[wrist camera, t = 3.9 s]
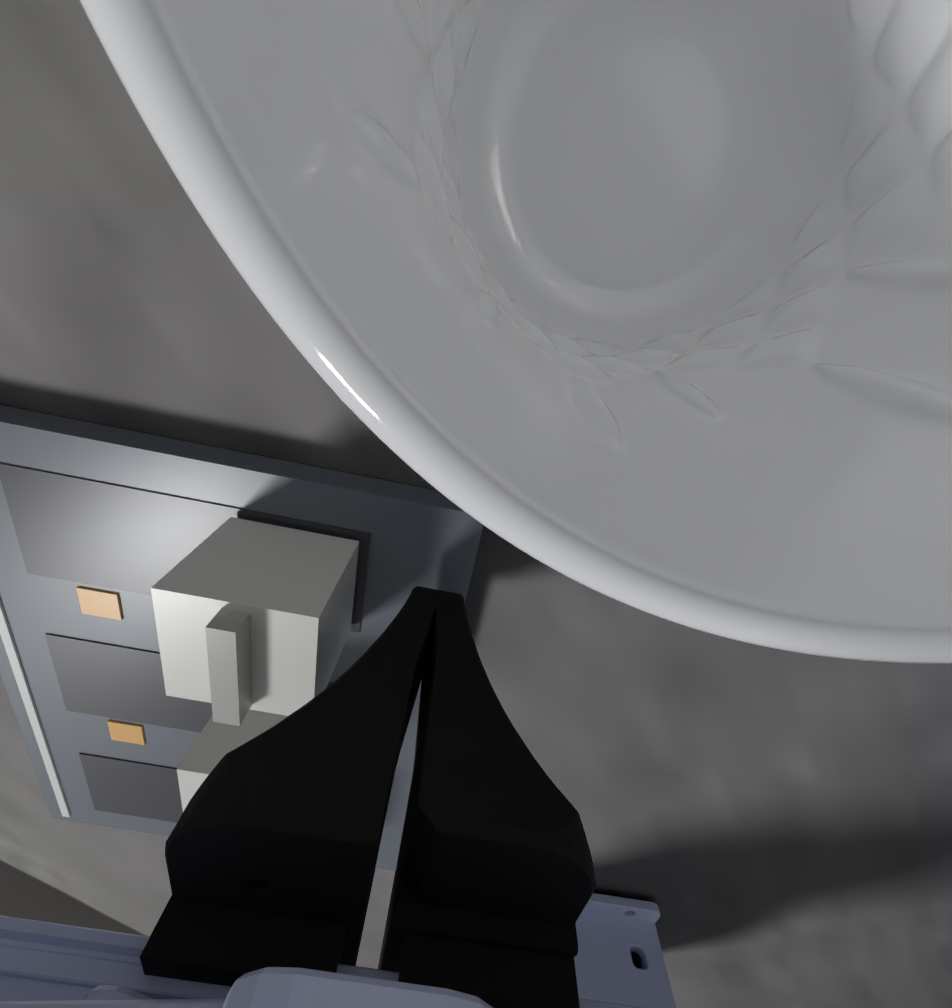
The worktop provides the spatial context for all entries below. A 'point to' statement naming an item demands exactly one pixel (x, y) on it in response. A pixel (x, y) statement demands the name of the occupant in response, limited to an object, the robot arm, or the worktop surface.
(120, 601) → the switch bank
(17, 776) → the worktop surface
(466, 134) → the white cup
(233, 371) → the worktop surface
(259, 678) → the tab
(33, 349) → the worktop surface
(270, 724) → the tab
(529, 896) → the robot arm
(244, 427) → the worktop surface
